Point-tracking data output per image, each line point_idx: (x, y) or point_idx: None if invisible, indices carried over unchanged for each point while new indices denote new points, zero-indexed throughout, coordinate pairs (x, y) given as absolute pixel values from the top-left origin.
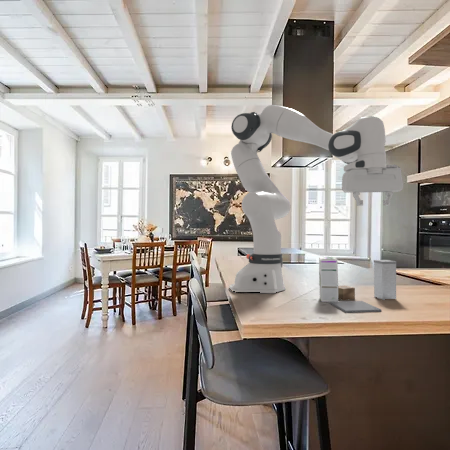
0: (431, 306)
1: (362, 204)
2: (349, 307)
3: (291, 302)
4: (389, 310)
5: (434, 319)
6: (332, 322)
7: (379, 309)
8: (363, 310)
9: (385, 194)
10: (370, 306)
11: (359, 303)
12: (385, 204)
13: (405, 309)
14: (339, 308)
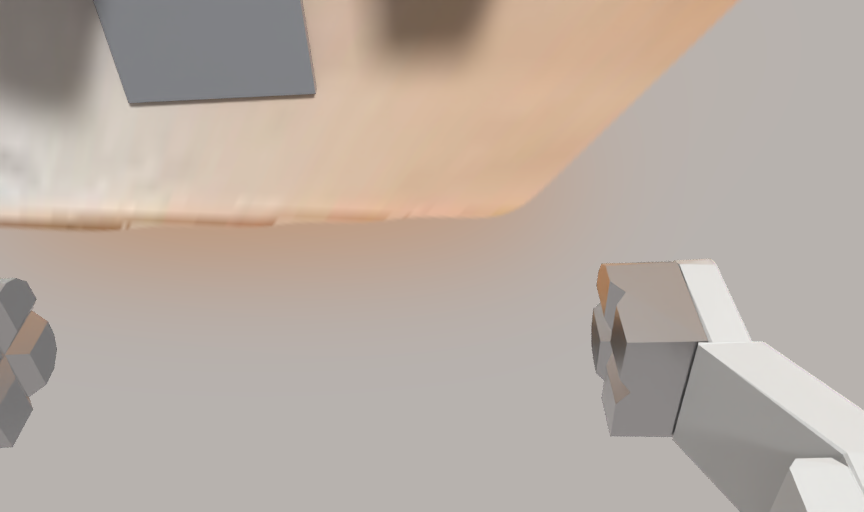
0: (651, 4)
1: (39, 369)
2: (160, 47)
3: None
4: (368, 69)
5: (480, 204)
6: (54, 218)
7: (306, 92)
8: (221, 97)
9: (792, 486)
10: (282, 34)
11: None
12: (593, 339)
13: (463, 56)
14: (108, 33)
